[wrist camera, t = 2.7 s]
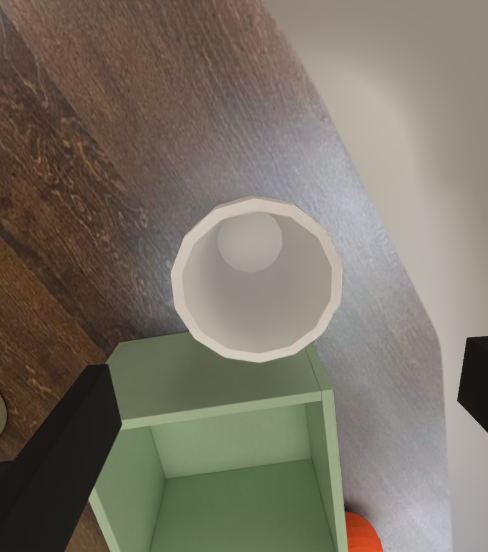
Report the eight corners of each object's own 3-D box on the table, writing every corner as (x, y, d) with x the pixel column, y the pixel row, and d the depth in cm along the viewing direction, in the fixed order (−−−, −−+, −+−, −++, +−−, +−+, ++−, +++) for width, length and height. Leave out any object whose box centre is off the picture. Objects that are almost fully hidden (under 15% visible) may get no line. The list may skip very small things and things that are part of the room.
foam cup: (244, 305, 32) (247, 389, 20) (177, 236, 30) (135, 281, 18) (320, 243, 30) (377, 292, 18) (256, 164, 28) (270, 158, 16)
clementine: (384, 501, 41) (413, 567, 34) (369, 540, 43) (394, 609, 36) (321, 495, 40) (338, 561, 33) (310, 535, 42) (324, 604, 35)
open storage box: (300, 313, 33) (333, 389, 21) (317, 456, 38) (350, 575, 27) (119, 342, 33) (58, 429, 22) (162, 478, 39) (132, 603, 28)
